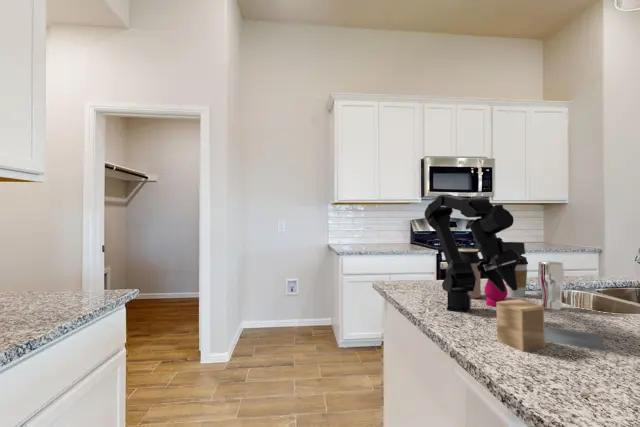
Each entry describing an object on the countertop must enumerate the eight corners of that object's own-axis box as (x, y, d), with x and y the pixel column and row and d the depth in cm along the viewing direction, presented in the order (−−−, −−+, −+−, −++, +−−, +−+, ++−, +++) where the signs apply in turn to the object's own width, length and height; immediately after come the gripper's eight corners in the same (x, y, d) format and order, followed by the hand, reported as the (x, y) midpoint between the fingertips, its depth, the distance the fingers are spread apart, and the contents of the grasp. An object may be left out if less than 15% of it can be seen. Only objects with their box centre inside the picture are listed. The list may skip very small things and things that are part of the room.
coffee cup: (525, 293, 131) (524, 255, 132) (531, 298, 123) (530, 257, 124) (501, 292, 134) (500, 254, 134) (506, 297, 126) (505, 257, 126)
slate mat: (537, 341, 83) (537, 339, 83) (538, 327, 93) (538, 325, 93) (606, 352, 76) (606, 350, 76) (598, 335, 86) (598, 334, 86)
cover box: (497, 342, 83) (496, 301, 83) (518, 338, 85) (517, 299, 85) (522, 353, 76) (521, 309, 76) (545, 348, 79) (543, 306, 79)
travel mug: (474, 293, 133) (473, 248, 133) (484, 298, 125) (483, 250, 125) (454, 294, 133) (453, 248, 133) (463, 299, 125) (462, 250, 125)
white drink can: (569, 311, 107) (567, 264, 107) (544, 310, 108) (543, 264, 108) (558, 305, 114) (557, 261, 114) (535, 304, 115) (534, 261, 115)
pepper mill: (480, 302, 120) (479, 246, 120) (499, 301, 121) (498, 245, 121) (492, 307, 113) (490, 248, 113) (512, 306, 113) (511, 247, 113)
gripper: (526, 222, 88) (555, 280, 83) (502, 236, 106) (525, 285, 101) (484, 235, 89) (510, 293, 84) (467, 246, 107) (488, 295, 102)
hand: (509, 291), depth 93 cm, fingers open, 9 cm apart
